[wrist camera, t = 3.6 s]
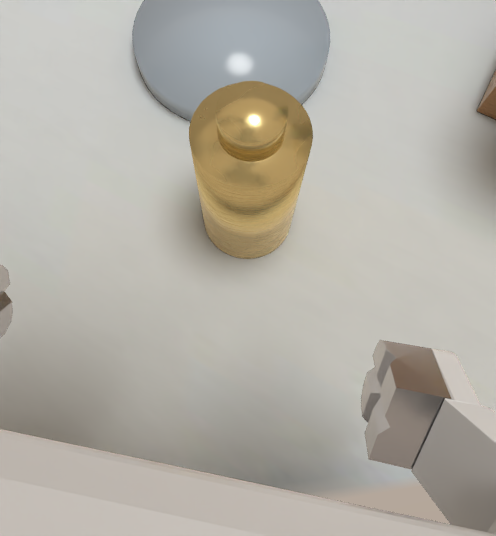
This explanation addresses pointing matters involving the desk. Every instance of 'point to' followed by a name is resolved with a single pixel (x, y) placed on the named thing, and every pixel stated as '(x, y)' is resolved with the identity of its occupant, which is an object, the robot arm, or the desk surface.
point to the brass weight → (249, 165)
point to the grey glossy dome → (228, 47)
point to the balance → (489, 99)
